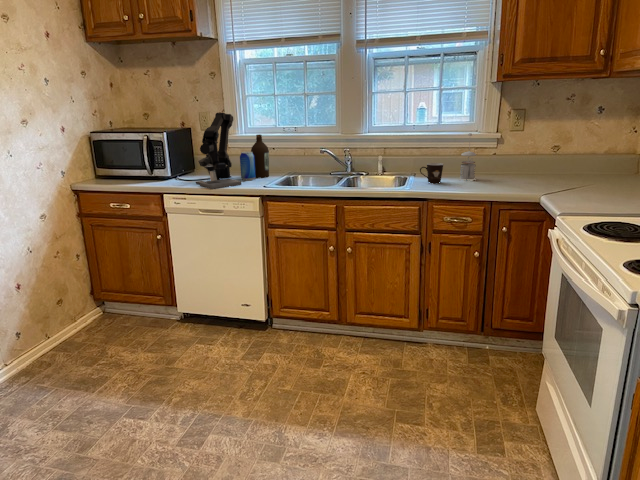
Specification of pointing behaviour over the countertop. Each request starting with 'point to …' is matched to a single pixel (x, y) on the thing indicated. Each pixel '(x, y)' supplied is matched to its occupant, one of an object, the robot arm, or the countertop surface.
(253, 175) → the beer can
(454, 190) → the countertop surface
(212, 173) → the block
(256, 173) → the olive oil
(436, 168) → the coffee mug
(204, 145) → the robot arm
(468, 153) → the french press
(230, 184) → the outlet plate
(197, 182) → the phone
